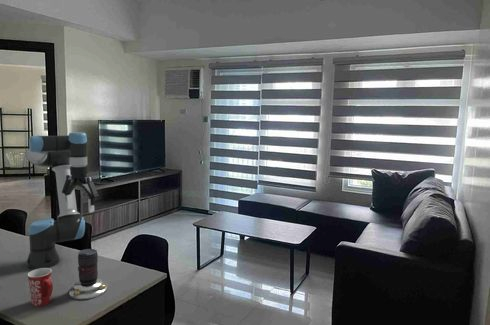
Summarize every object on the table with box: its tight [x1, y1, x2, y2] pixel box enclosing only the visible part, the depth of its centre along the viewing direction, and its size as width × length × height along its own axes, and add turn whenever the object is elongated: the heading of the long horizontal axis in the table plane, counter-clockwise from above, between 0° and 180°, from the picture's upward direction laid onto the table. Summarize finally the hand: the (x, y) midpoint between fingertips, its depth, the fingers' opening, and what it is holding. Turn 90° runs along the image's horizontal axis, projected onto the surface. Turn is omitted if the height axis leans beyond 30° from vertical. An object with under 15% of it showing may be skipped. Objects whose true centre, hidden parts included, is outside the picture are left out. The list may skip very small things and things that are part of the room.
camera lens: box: [77, 248, 99, 286], centre depth 162 cm, size 8×8×15 cm
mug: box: [27, 267, 54, 307], centre depth 151 cm, size 13×9×14 cm
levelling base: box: [68, 277, 108, 301], centre depth 163 cm, size 16×16×4 cm
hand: (80, 210), depth 169 cm, fingers open, 13 cm apart
